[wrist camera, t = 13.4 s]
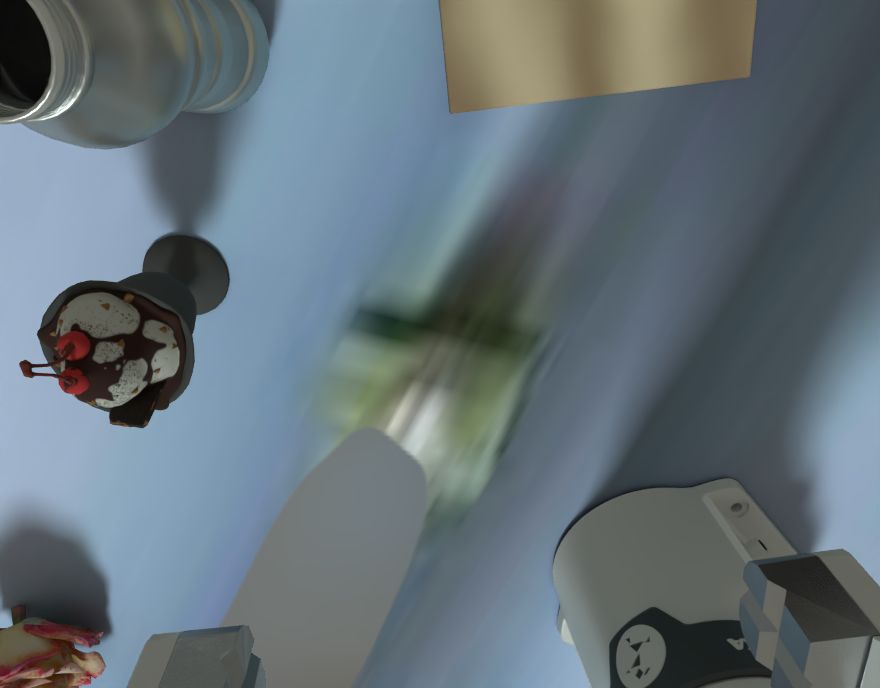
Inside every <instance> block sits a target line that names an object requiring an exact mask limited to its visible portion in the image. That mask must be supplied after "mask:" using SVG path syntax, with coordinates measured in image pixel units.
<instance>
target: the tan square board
mask: <svg viewBox="0 0 880 688" xmlns="http://www.w3.org/2000/svg"><path fill="white" fill-rule="evenodd" d="M756 5H757V0H439V8H440V18H441V28H442V38H443V49H444V59H445V69H446V79H447V89H448V100H449V110H450V113H451V114H453V113H461V112H469V111H477V110H485V109H493V108H502V107H510V106H518V105H526V104H534V103H542V102H550V101H558V100H567V99H575V98H583V97H591V96H599V95H607V94H615V93H623V92H632V91H640V90H648V89H656V88H664V87H672V86H680V85H689V84H697V83H705V82H713V81H721V80H729V79H737V78H745V77H750V69H751V59H752V48H753V37H754V26H755V16H756Z"/></svg>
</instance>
